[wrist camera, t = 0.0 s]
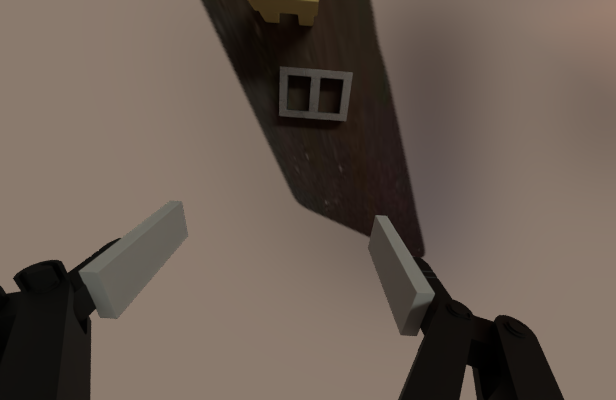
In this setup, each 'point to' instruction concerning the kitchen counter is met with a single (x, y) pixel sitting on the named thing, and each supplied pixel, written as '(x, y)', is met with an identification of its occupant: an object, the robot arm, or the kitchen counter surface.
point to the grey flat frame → (314, 93)
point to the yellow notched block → (286, 9)
